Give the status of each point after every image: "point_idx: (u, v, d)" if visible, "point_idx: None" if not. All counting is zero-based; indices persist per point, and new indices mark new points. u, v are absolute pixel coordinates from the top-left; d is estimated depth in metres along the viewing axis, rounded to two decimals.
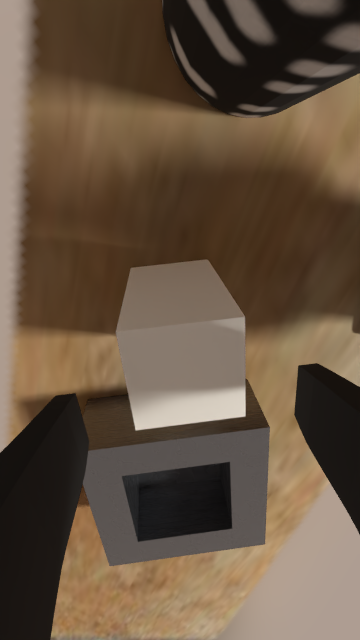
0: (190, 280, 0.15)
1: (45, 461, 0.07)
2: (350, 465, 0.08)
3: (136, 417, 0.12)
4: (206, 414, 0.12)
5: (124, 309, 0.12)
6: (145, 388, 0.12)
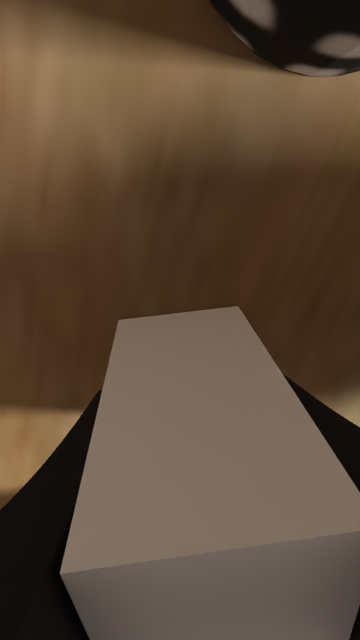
0: (219, 363, 0.08)
1: None
2: None
3: None
4: None
5: (94, 456, 0.06)
6: None
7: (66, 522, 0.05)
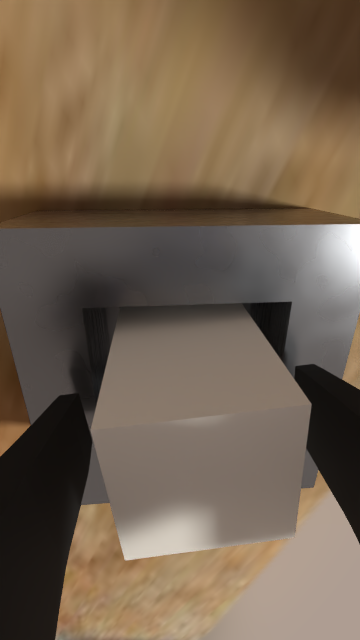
0: (207, 318, 0.10)
1: (49, 460, 0.07)
2: (346, 466, 0.08)
3: (126, 544, 0.08)
4: (235, 537, 0.08)
5: (109, 373, 0.08)
6: (141, 507, 0.07)
7: None
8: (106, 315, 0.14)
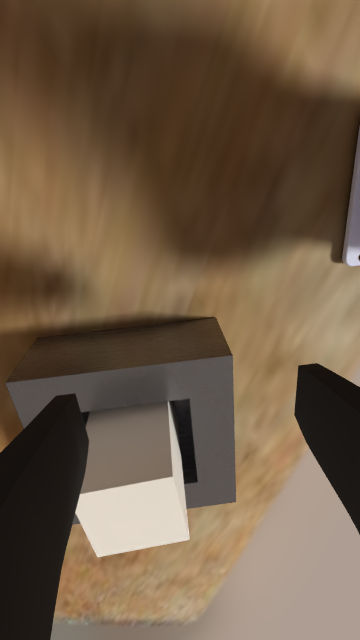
0: (142, 409, 0.17)
1: (45, 461, 0.07)
2: (350, 465, 0.08)
3: (96, 548, 0.14)
4: (155, 541, 0.15)
5: None
6: (100, 529, 0.14)
7: None
8: None
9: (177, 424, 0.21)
